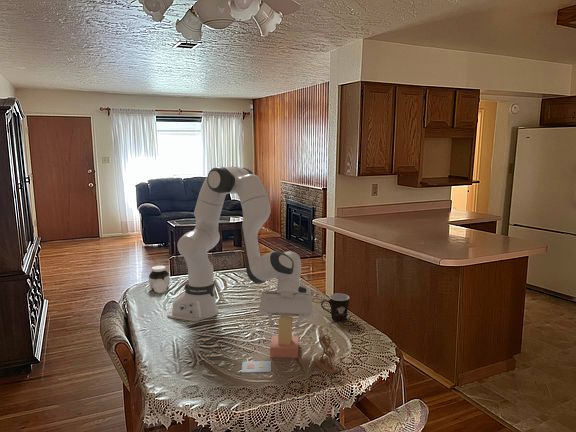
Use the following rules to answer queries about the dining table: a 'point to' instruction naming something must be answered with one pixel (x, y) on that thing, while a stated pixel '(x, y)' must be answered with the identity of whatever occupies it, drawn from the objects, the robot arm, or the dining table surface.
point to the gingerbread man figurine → (322, 362)
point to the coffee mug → (338, 306)
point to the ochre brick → (285, 330)
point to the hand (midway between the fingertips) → (284, 326)
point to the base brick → (284, 348)
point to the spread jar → (159, 279)
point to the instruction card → (256, 366)
